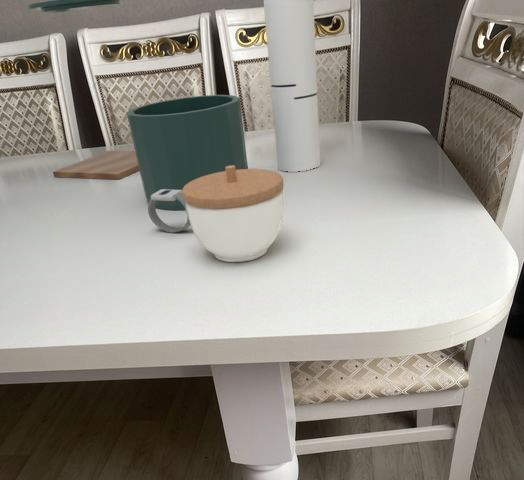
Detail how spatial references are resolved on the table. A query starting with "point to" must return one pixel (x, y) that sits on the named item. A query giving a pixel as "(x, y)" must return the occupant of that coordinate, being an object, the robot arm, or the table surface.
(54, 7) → the lid
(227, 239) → the trinket box
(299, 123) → the cylindrical container
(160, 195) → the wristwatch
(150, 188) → the canister
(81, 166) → the board
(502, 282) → the table surface
